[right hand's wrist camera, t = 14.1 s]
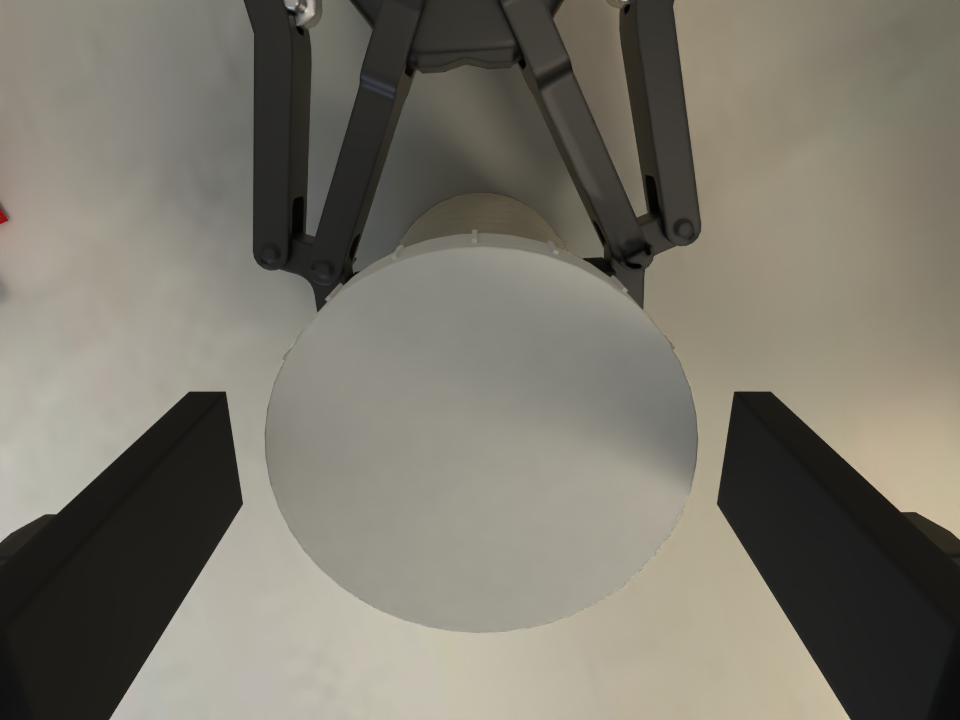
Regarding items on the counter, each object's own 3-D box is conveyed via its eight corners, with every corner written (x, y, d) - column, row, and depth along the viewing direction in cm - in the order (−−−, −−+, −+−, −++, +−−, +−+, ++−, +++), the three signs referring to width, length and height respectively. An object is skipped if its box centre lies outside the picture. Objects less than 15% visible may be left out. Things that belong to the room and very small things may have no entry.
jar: (359, 295, 30) (225, 479, 14) (465, 153, 28) (445, 183, 12) (494, 394, 32) (508, 655, 16) (604, 267, 30) (746, 425, 14)
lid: (213, 456, 16) (181, 495, 14) (446, 136, 13) (440, 137, 11) (507, 642, 17) (509, 695, 16) (759, 395, 15) (793, 428, 13)
